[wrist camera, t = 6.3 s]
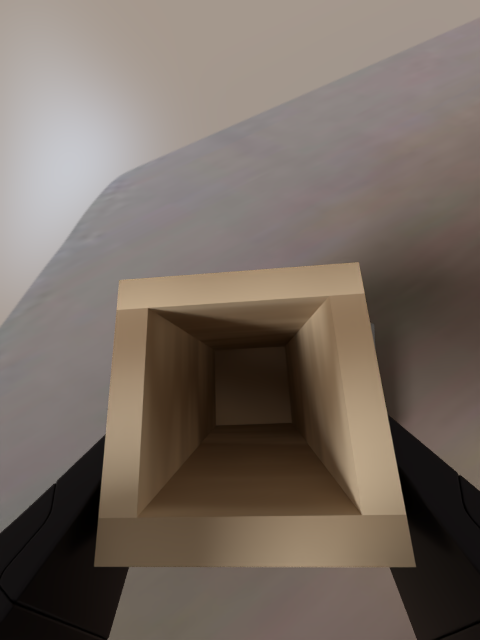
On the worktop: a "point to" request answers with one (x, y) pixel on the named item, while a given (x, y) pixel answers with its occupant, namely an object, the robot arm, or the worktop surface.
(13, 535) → the robot arm
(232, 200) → the worktop surface
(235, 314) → the tall pine crate
